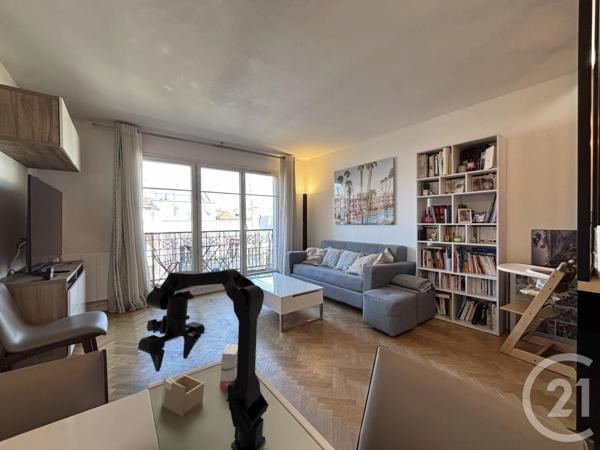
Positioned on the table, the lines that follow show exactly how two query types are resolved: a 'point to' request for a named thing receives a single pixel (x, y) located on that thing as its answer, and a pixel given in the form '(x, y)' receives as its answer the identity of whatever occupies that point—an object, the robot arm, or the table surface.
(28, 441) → the table surface
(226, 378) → the ink box
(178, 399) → the end flap
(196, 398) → the carton
